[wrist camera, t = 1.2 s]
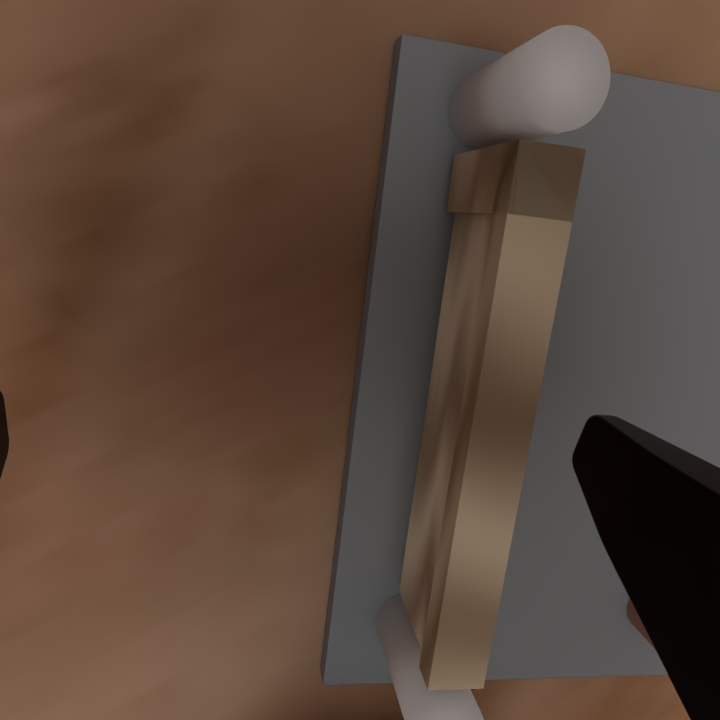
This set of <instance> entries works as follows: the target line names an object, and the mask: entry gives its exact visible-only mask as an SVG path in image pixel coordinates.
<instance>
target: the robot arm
mask: <svg viewBox="0 0 720 720" xmlns="http://www.w3.org/2000/svg"><path fill="white" fill-rule="evenodd" d="M8 448H9V435H8V427H7V419H6V411H5V403H4V397H3V394H2V392H1V391H0V478H1V475H2V471H3V468H4V465H5V461H6V458H7V454H8ZM572 464H573V469H574V471H575V474H576V477H577V479H578V482H579V484H580V487H581V490H582V492H583V495H584V497H585V500H586V503H587V505H588V508H589V510H590V513H591V516H592V518H593V521H594V523H595V526H596V529H597V531H598V534H599V536H600V538H601V541H602V543H603V546H604V548H605V550H606V552H607V554H608V556H609V558H610V560H611V562H612V564H613V566H614V568H615V570H616V572H617V574H618V576H619V578H620V580H621V582H622V584H623V586H624V588H625V590H626V592H627V594H628V596H629V598H630V600H631V602H632V604H633V606H634V608H635V610H636V612H637V614H638V616H639V618H640V620H641V622H642V624H643V626H644V628H645V630H646V632H647V634H648V636H649V638H650V640H651V642H652V644H653V646H654V648H655V650H656V652H657V654H658V656H659V658H660V660H661V662H662V664H663V666H664V668H665V670H666V672H667V673H668V675H669V677H670V679H671V681H672V683H673V685H674V687H675V689H676V691H677V693H678V695H679V697H680V699H681V701H682V703H683V705H684V707H685V709H686V711H687V713H688V715H689V717H690V719H691V720H720V468H719V467H717V466H715V465H713V464H711V463H709V462H707V461H705V460H703V459H701V458H699V457H697V456H695V455H693V454H691V453H689V452H687V451H685V450H683V449H681V448H679V447H677V446H675V445H673V444H671V443H669V442H667V441H665V440H663V439H661V438H659V437H657V436H655V435H653V434H651V433H649V432H647V431H645V430H643V429H641V428H639V427H637V426H635V425H633V424H631V423H629V422H627V421H625V420H623V419H621V418H619V417H617V416H613V415H593V416H591V417H589V418H588V420H587V421H586V423H585V425H584V428H583V430H582V432H581V435H580V437H579V440H578V442H577V444H576V447H575V449H574V452H573V456H572Z"/></svg>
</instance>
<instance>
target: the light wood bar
mask: <svg viewBox="0 0 720 720" xmlns="http://www.w3.org/2000/svg"><path fill="white" fill-rule="evenodd" d="M585 153H586V149H583V148H576V147H570V146H563V145H557V144H551V143H544V142H538V141H531V140H525V139H517V140H513V141H509V142H505V143H501V144H497V145H493V146H489V147H485V148H481V149H477V150H473V151H469V152H465V153H461V154H457V155H455V156H454V163H453V170H452V177H451V184H450V191H449V198H448V204H447V211H446V212H451V213H455V216H454V223H453V230H452V237H451V243H450V250H449V257H448V264H447V270H446V277H445V284H444V291H443V297H442V304H441V311H440V318H439V324H438V331H437V338H436V345H435V351H434V358H433V365H432V372H431V378H430V385H429V392H428V399H427V405H426V412H425V419H424V426H423V432H422V439H421V446H420V453H419V459H418V466H417V473H416V480H415V486H414V493H413V500H412V507H411V513H410V520H409V527H408V534H407V540H406V547H405V554H404V561H403V567H402V574H401V581H400V588H399V593H400V595H401V598H402V600H403V603H404V606H405V608H406V611H407V613H408V616H409V618H410V621H411V624H412V626H413V629H414V631H415V634H416V637H417V639H418V642H419V644H420V647H421V649H422V652H421V658H420V664H419V668H420V670H421V673H422V676H423V679H424V681H425V684H426V687H427V690H456V689H483V688H484V683H485V678H486V672H487V667H488V662H489V657H490V651H491V646H492V641H493V636H494V630H495V625H496V620H497V615H498V609H499V604H500V599H501V594H502V588H503V583H504V578H505V573H506V567H507V562H508V557H509V552H510V546H511V541H512V536H513V531H514V525H515V520H516V515H517V510H518V504H519V499H520V494H521V489H522V484H523V478H524V473H525V468H526V463H527V457H528V452H529V447H530V442H531V436H532V431H533V426H534V421H535V415H536V410H537V405H538V400H539V394H540V389H541V384H542V379H543V373H544V368H545V363H546V358H547V352H548V347H549V342H550V337H551V331H552V326H553V321H554V316H555V311H556V305H557V300H558V295H559V290H560V284H561V279H562V274H563V269H564V263H565V258H566V253H567V248H568V242H569V237H570V232H571V227H572V221H573V216H574V211H575V206H576V200H577V195H578V190H579V185H580V179H581V174H582V169H583V164H584V158H585Z"/></svg>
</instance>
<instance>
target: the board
mask: <svg viewBox="0 0 720 720" xmlns="http://www.w3.org/2000/svg"><path fill="white" fill-rule="evenodd" d="M517 139H525V140H531V141H538V142H544V143H551V144H557V145H563V146H570V147H576V148H583V149H586V153H585V158H584V164H583V169H582V174H581V179H580V185H579V190H578V195H577V200H576V206H575V211H574V216H573V221H572V227H571V232H570V237H569V242H568V248H567V253H566V258H565V263H564V269H563V274H562V279H561V284H560V290H559V295H558V300H557V305H556V311H555V316H554V321H553V326H552V331H551V337H550V342H549V347H548V352H547V358H546V363H545V368H544V373H543V379H542V384H541V389H540V394H539V400H538V405H537V410H536V415H535V421H534V426H533V431H532V436H531V442H530V447H529V452H528V457H527V463H526V468H525V473H524V478H523V484H522V489H521V494H520V499H519V504H518V510H517V515H516V520H515V525H514V531H513V536H512V541H511V546H510V552H509V557H508V562H507V567H506V573H505V578H504V583H503V588H502V594H501V599H500V604H499V609H498V615H497V620H496V625H495V630H494V636H493V641H492V646H491V651H490V657H489V662H488V667H487V672H486V678H485V680H507V679H539V678H571V677H602V676H634V675H666V674H668V673H667V672H666V670H665V668H664V666H663V664H662V662H661V660H660V658H659V656H658V654H657V652H656V650H655V649H654V648H653V647H652V646H651V644H650V643H649V642H648V641H647V640H646V639H645V638H644V637H643V636H642V635H641V633H640V632H639V631H638V630H637V629H636V628H635V627H634V626H633V625H632V624H631V623H630V621H629V620H628V617H627V612H626V610H627V604H628V601H629V599H630V598H629V596H628V594H627V592H626V590H625V588H624V586H623V584H622V582H621V580H620V578H619V576H618V574H617V572H616V570H615V568H614V566H613V564H612V562H611V560H610V558H609V556H608V554H607V552H606V550H605V548H604V546H603V543H602V541H601V538H600V536H599V534H598V531H597V529H596V526H595V523H594V521H593V518H592V516H591V513H590V510H589V508H588V505H587V503H586V500H585V497H584V495H583V492H582V490H581V487H580V484H579V482H578V479H577V477H576V474H575V471H574V469H573V464H572V456H573V452H574V449H575V447H576V444H577V442H578V440H579V437H580V435H581V432H582V430H583V428H584V425H585V423H586V421H587V420H588V418H589V417H591V416H593V415H613V416H617V417H619V418H621V419H623V420H625V421H627V422H629V423H631V424H633V425H635V426H637V427H639V428H641V429H643V430H645V431H647V432H649V433H651V434H653V435H655V436H657V437H659V438H661V439H663V440H665V441H667V442H669V443H671V444H673V445H675V446H677V447H679V448H681V449H683V450H685V451H687V452H689V453H691V454H693V455H695V456H697V457H699V458H701V459H703V460H705V461H707V462H709V463H711V464H713V465H715V466H717V467H719V468H720V92H716V91H710V90H705V89H700V88H694V87H689V86H683V85H678V84H672V83H667V82H661V81H656V80H651V79H645V78H640V77H634V76H629V75H623V74H618V73H613V72H610V64H609V60H608V57H607V54H606V51H605V49H604V47H603V46H602V44H601V43H600V41H599V40H598V39H597V38H596V37H595V36H594V35H593V34H592V33H590V32H589V31H587V30H586V29H583V28H581V27H578V26H574V25H560V26H556V27H553V28H550V29H548V30H546V31H544V32H543V33H541V34H539V35H538V36H536V37H534V38H533V39H531V40H529V41H528V42H526V43H524V44H523V45H521V46H519V47H518V48H516V49H514V50H513V51H511V52H509V53H504V52H498V51H493V50H488V49H482V48H477V47H471V46H466V45H460V44H455V43H449V42H444V41H439V40H433V39H428V38H422V37H417V36H411V35H406V34H402V35H401V36H400V37H399V38H398V39H397V40H396V42H395V47H394V55H393V63H392V72H391V80H390V88H389V97H388V105H387V114H386V122H385V130H384V139H383V147H382V155H381V164H380V172H379V181H378V189H377V197H376V206H375V214H374V223H373V231H372V239H371V248H370V256H369V264H368V273H367V281H366V290H365V298H364V306H363V315H362V323H361V331H360V340H359V348H358V357H357V365H356V373H355V382H354V390H353V398H352V407H351V415H350V424H349V432H348V440H347V449H346V457H345V465H344V474H343V482H342V491H341V499H340V507H339V516H338V524H337V532H336V541H335V549H334V558H333V566H332V574H331V583H330V591H329V599H328V608H327V616H326V625H325V633H324V641H323V650H322V658H321V667H320V668H321V674H322V681H323V685H348V684H380V683H393V685H394V688H395V692H396V695H397V698H398V702H399V705H400V708H401V712H402V715H403V718H404V720H484V718H483V716H482V713H481V711H480V709H479V707H478V705H477V702H476V700H475V698H474V696H473V694H472V692H471V689H456V690H427V687H426V684H425V681H424V679H423V676H422V673H421V670H420V668H419V664H420V658H421V652H422V649H421V647H420V644H419V642H418V639H417V637H416V634H415V631H414V629H413V626H412V624H411V621H410V618H409V616H408V613H407V611H406V608H405V606H404V603H403V600H402V598H401V595H400V593H399V588H400V581H401V574H402V567H403V561H404V554H405V547H406V540H407V534H408V527H409V520H410V513H411V507H412V500H413V493H414V486H415V480H416V473H417V466H418V459H419V453H420V446H421V439H422V432H423V426H424V419H425V412H426V405H427V399H428V392H429V385H430V378H431V372H432V365H433V358H434V351H435V345H436V338H437V331H438V324H439V318H440V311H441V304H442V297H443V291H444V284H445V277H446V270H447V264H448V257H449V250H450V243H451V237H452V230H453V223H454V216H455V213H451V212H446V211H447V204H448V198H449V191H450V184H451V177H452V170H453V163H454V156H455V155H457V154H461V153H465V152H469V151H473V150H477V149H481V148H485V147H489V146H493V145H497V144H501V143H505V142H509V141H513V140H517Z"/></svg>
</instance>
